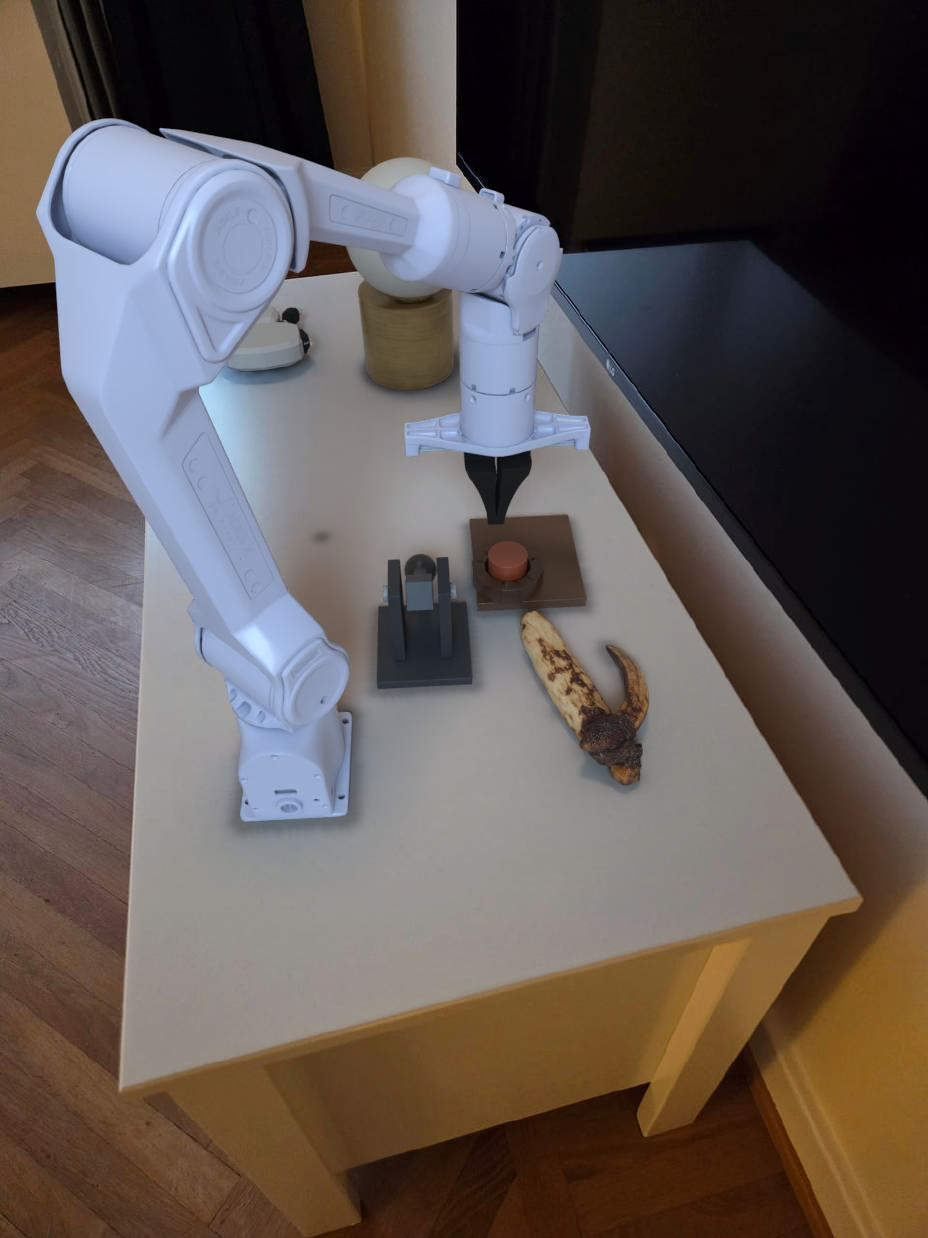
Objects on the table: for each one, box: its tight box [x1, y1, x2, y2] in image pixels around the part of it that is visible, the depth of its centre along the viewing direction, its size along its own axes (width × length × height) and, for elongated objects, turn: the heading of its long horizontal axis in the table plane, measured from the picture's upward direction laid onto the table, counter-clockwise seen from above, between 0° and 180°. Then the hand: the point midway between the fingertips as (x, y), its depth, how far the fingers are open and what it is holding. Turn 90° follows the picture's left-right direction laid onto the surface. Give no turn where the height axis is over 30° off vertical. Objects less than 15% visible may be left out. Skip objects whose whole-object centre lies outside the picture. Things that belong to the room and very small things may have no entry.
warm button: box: [488, 541, 528, 581], centre depth 76 cm, size 4×4×2 cm
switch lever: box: [403, 553, 437, 611], centre depth 73 cm, size 11×3×3 cm
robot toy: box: [225, 305, 314, 372], centre depth 108 cm, size 12×4×15 cm
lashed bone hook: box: [520, 610, 650, 786], centre depth 68 cm, size 9×5×18 cm
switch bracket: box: [376, 556, 473, 690], centre depth 71 cm, size 9×8×9 cm
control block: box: [468, 514, 587, 612], centre depth 80 cm, size 12×10×3 cm
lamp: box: [345, 156, 455, 391], centre depth 96 cm, size 15×14×25 cm
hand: (495, 517), depth 72 cm, fingers closed
